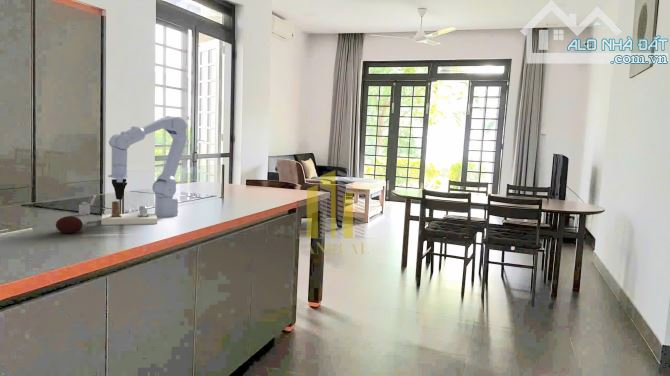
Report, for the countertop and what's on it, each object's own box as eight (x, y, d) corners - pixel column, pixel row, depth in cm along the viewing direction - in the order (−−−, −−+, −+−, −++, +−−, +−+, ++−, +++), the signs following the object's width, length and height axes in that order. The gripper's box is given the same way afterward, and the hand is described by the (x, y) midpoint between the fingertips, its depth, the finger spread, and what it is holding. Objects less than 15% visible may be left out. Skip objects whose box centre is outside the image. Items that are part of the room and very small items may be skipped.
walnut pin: (119, 221, 189) (119, 201, 188) (119, 222, 186) (119, 202, 185) (111, 221, 187) (112, 201, 186) (111, 222, 185) (112, 202, 184)
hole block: (155, 220, 198) (155, 213, 197) (157, 225, 189) (157, 218, 188) (102, 221, 189) (102, 214, 189) (101, 226, 180) (101, 219, 180)
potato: (57, 230, 170) (57, 214, 169) (83, 230, 173) (83, 214, 172) (54, 235, 163) (54, 218, 162) (81, 234, 166) (81, 218, 165)
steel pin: (146, 220, 193) (146, 206, 192) (147, 222, 190) (147, 207, 190) (139, 220, 192) (139, 206, 191) (139, 222, 189) (139, 207, 188)
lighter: (81, 215, 198) (81, 196, 197) (78, 214, 199) (78, 196, 198) (96, 213, 205) (96, 195, 204) (93, 212, 206) (93, 194, 205)
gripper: (108, 162, 194) (108, 195, 196) (108, 165, 181) (108, 200, 183) (127, 163, 197) (126, 195, 199) (128, 166, 184) (127, 200, 186)
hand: (119, 197), depth 191 cm, fingers open, 7 cm apart
